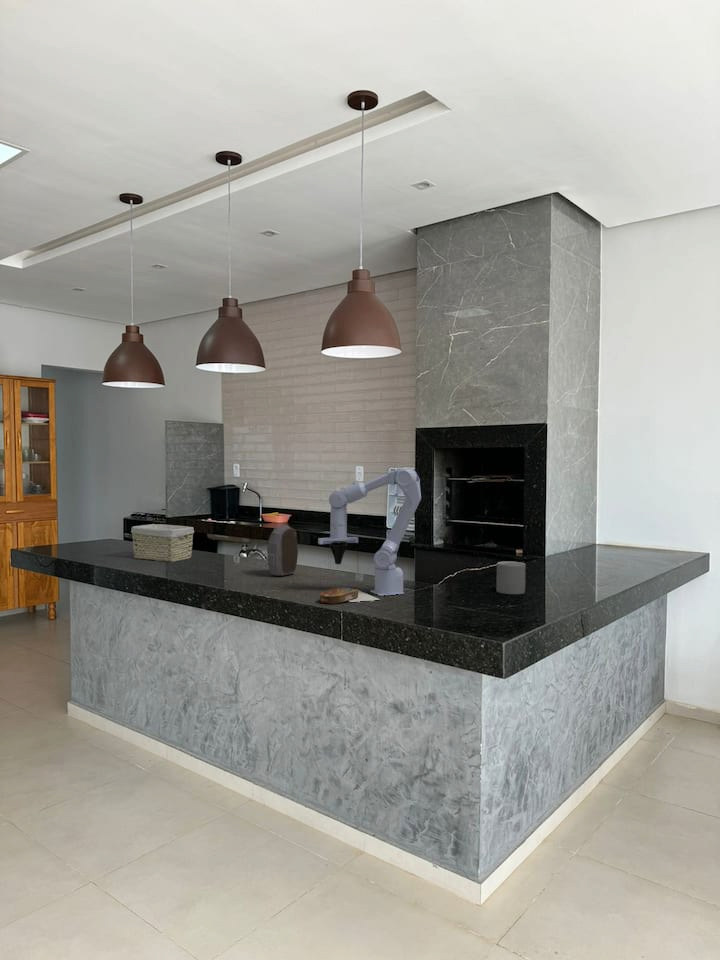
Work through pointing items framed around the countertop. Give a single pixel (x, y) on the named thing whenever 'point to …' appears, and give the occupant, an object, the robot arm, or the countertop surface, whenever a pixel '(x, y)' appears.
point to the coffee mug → (510, 577)
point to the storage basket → (162, 542)
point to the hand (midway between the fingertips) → (338, 563)
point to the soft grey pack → (282, 551)
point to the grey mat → (363, 597)
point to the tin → (339, 595)
